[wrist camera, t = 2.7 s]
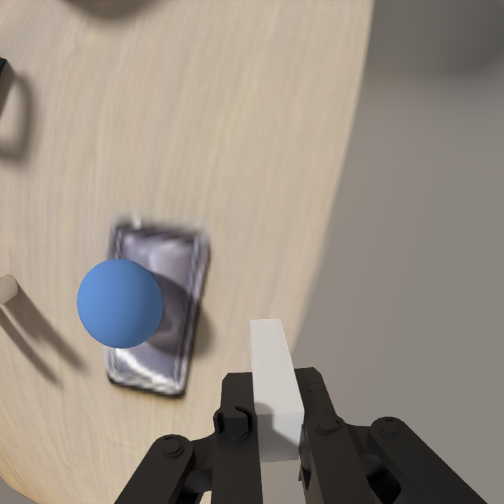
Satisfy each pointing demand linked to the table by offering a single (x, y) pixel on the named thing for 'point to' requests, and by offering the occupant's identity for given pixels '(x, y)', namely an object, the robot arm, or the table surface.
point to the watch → (2, 63)
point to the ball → (120, 303)
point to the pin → (7, 288)
